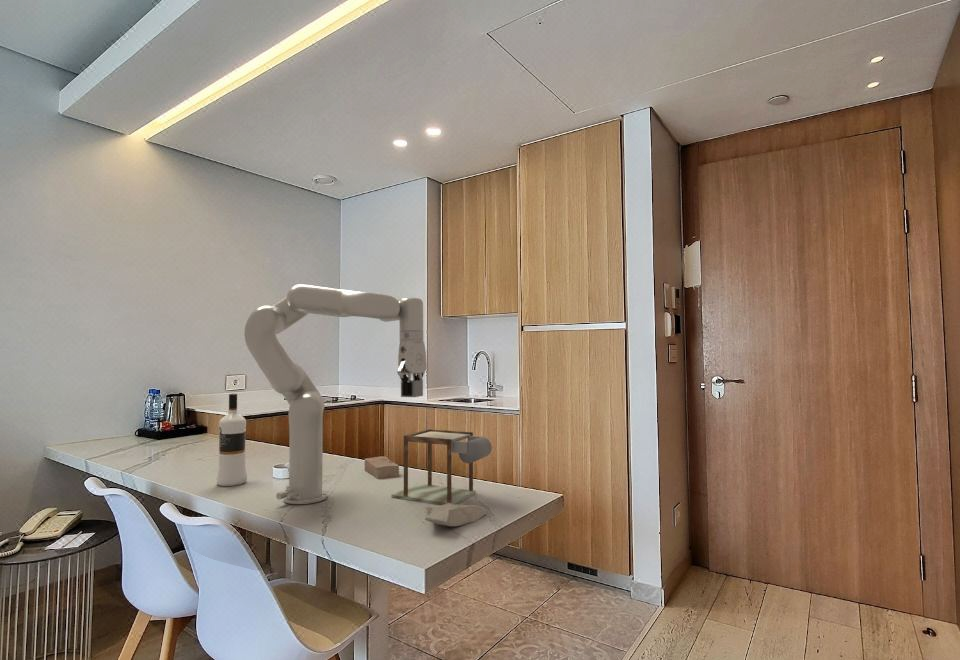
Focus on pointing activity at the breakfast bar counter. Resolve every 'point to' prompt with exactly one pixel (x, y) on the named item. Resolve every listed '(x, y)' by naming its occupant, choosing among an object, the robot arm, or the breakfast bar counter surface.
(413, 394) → the stone block
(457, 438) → the trapdoor
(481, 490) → the breakfast bar counter surface
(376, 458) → the brick
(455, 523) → the rock
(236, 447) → the vodka
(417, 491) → the trapdoor frame
